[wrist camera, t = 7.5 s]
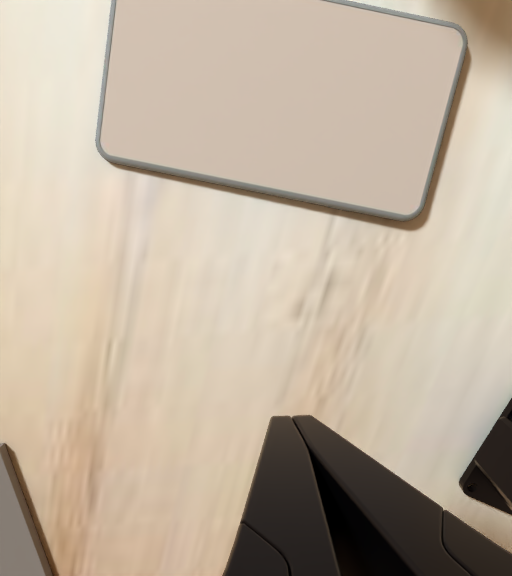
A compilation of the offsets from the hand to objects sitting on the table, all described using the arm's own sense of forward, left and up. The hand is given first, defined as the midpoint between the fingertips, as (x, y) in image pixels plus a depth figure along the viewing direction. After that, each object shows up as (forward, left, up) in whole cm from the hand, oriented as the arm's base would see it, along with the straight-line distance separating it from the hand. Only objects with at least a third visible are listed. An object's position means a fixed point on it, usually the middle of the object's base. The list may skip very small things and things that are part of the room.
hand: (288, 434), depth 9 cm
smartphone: (+4, -8, -12) cm, 15 cm away
